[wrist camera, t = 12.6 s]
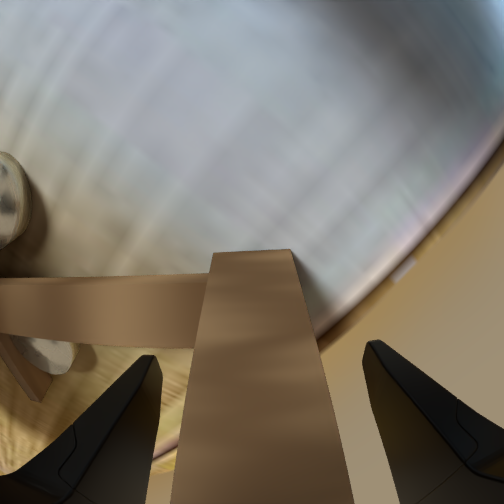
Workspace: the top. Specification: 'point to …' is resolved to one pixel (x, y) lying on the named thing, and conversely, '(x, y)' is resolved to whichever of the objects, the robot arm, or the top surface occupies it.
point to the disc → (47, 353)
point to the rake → (208, 370)
